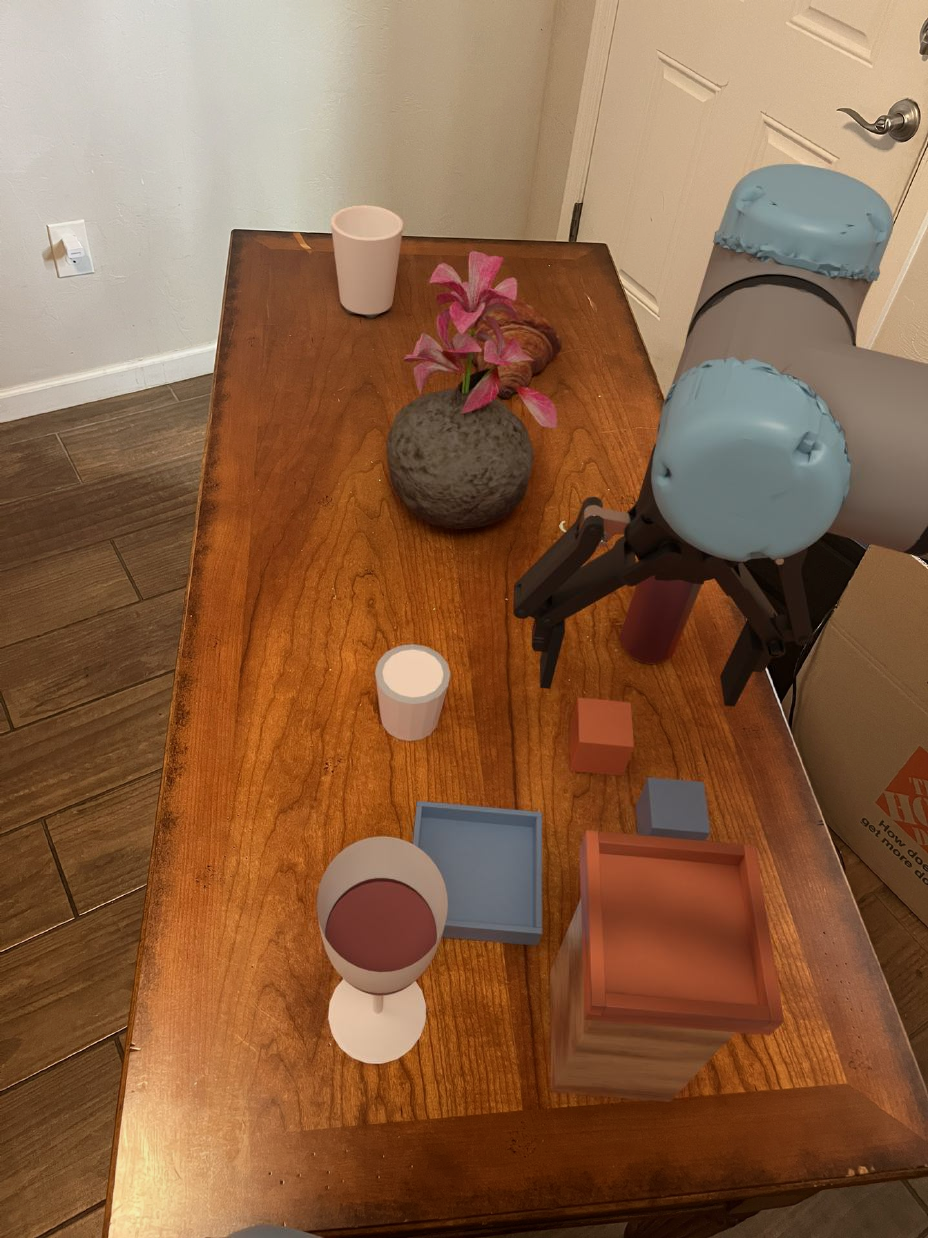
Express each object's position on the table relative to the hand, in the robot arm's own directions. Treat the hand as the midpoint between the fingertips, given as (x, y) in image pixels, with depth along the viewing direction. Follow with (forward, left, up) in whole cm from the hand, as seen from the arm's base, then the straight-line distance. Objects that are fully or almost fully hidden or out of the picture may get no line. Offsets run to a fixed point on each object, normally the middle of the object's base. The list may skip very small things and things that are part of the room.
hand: (636, 683), depth 70 cm
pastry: (+72, +9, -21) cm, 76 cm away
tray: (-7, +10, -21) cm, 24 cm away
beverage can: (+21, -7, -21) cm, 31 cm away
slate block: (-1, -7, -21) cm, 22 cm away
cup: (+81, +30, -21) cm, 89 cm away
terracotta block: (+7, -1, -21) cm, 22 cm away
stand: (-19, -1, -21) cm, 28 cm away
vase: (+40, +14, -21) cm, 48 cm away
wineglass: (-18, +17, -21) cm, 32 cm away
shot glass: (+9, +17, -21) cm, 28 cm away
